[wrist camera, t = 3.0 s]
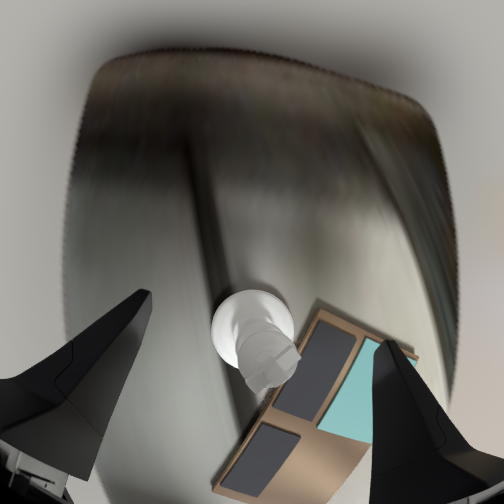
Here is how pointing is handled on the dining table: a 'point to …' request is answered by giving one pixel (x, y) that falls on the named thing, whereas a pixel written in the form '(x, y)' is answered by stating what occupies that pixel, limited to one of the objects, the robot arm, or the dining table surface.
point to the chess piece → (256, 338)
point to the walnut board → (309, 440)
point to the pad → (354, 399)
